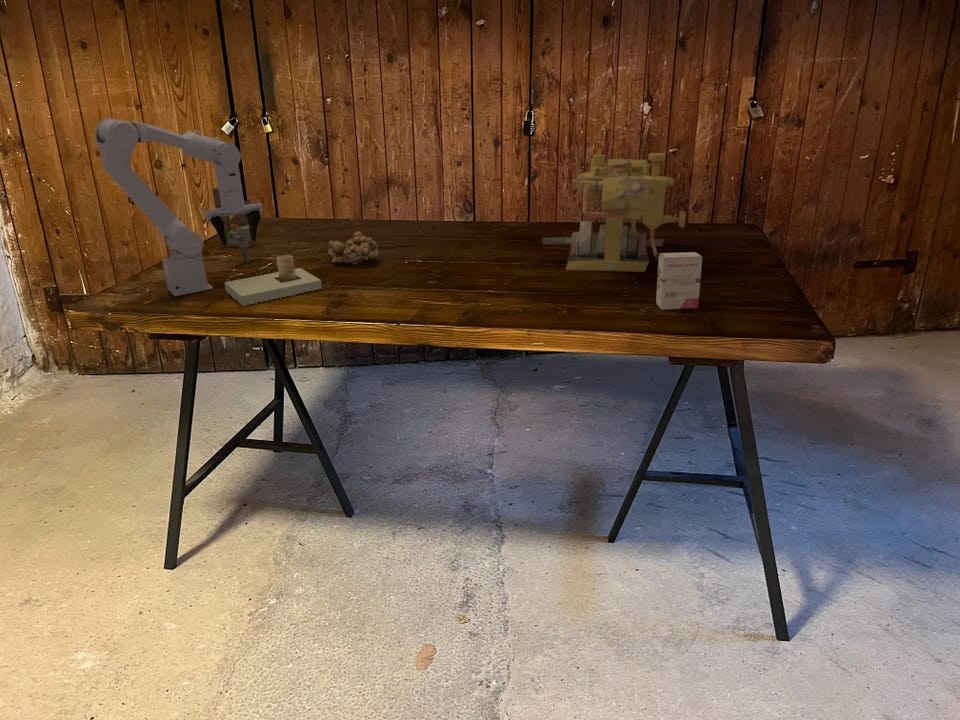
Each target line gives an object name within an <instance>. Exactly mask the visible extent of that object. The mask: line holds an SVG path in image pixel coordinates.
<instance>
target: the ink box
mask: <svg viewBox="0 0 960 720" xmlns="http://www.w3.org/2000/svg"><path fill="white" fill-rule="evenodd" d="M702 265H703V256H702V255H700V254H699V253H698V252H695V251H690V252H662V253H661V252H660V253H658V267H657V279H656V281H657V282H656V294H655V295H656V297H655V299H656V300H655V303H656V305H657V306H658V307H659V308H660V310H680V309H683V310H685V309H698V308H699V302H700V301H699V300H700V292H701V291H700V290H701V278H702V267H703V266H702Z"/></svg>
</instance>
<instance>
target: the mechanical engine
mask: <svg viewBox="0 0 960 720" xmlns="http://www.w3.org/2000/svg"><path fill="white" fill-rule="evenodd" d="M647 157H648V160H647V159H633V158H632V159H630V158H629V159H626V158H624V157H621V158H609V159H607V163H606V155H605V154H602V149H599V148H597V153H596V154H593V157H592V160H591V163H590V172H589V171H587V172H586V171H585V172H581V174H579V176H578V177H577V179H572V186H574V187H576V189H577V191H579V192H580V193H581V192H583V193H582V211H581V212H582V214H583V215H584V216H585V217H587V218H605V223H604V224H600V226H599V232H597V231H596V232H595V231H594V232H593V221H580V223H579V224H580V225H579V231H573V232H572V234H571V236H560V237H559V236H558V237H556V236H555V237H542V238H541V241H542V242H541V243H542V245H570V253H569V255H568V258H567V262H566V266H565V271H596V272H598V271H599V272H600V271H601V272H629V273H630V272H632V273H633V272H637V273H639V272H640V273H644V272H646V269H647V267H648V265H649V263H650V260H649V255H648V250H647V247H651V249H652V252H653V255H654V258H656V260H659V254H658V251H657V248H656V247H663V246H664V238H655V231H656V230H657V228H659V227H660V226H661V225H663V224H667V223H674V222H678V224H677V225H678V227H680V228H682V229H685V226H686V225H685V224H686V211H685V210H684V211H683V210H679V213H678V216H677V217H676V216H675V217H674V216H673V215H672V214H670V215H669V214H667V215H665V214H664V210H665V209H664V207H665V198H666V193H667V187H674V181H675V180H674V178H672V177H669V176H665V175H664V176H662V175H660V171H661V167H660V163H659V162H661V161H665V160H666V154H665V153H662V152H655V153H654V152H652V153H651V152H650V153H648V156H647ZM648 161H651V163H648ZM651 165H652V166H651ZM650 167H651V175H650V172H649V170H648V168H650ZM589 193H602V195H601V211H588V199H589V198H588V196H589ZM641 217H642V218H641ZM625 219H631V222H630V228H629V226H628V225H624V220H625ZM641 219H642V221H641V222H642V223H643V225H644V226H645V227H646V228H647V229H648V230H649V239H646V238H647V233H645V232H644V233H640V232H639V231H637V229H636V228H637V221H638V220H641ZM628 229H629V230H628Z"/></svg>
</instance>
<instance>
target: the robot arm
mask: <svg viewBox="0 0 960 720" xmlns="http://www.w3.org/2000/svg"><path fill="white" fill-rule="evenodd" d="M94 141H95V143H96V145H97V148H98V152H99V155H100V156H99V157H100V161H101V164H102V167H103V170H104V171H105V173H106V174H107V175H108V176H109V177H110V178H111V179H112V180H113V181H114V182H115V183H116V185H118V187H119V188H121V190H122V191H123V192H124V193H125V194H126V195H127V196H128V197H129V198H130V200H132V201H133V203H135V205H136V206H137V207H138V208H139V209H140V210H141V211H142V213H144V214H145V216H147V218H148V219H149V220H150V221H151V222H152V223H154V226H156V227H157V228H158V232H159V233H160V234H161V235H162V237H163V239H164V243H165V244H166V246H167V247H168V248H169V249H170V250H171V252H170V257H168V258H164V259H162V266H163V271H164V277H165V281H166V285H167V286H166V287H167V290H168V291H169V292H170V293H171V295H173V297H178V296H184V295H187V294H193V293H200V292H205V291H209V290H213V289H214V288H213V286H212V285H211V284H210V283H208V278H207V273H206V270H205V269H206V268H205V263H204V258H203V254H202V252H203V248H204V240H203V238H202V235H201V234H199V233H198V232H196V231H194V230H192V229H190V228H189V227H188V225H186V224H185V223H184V222H182V221H181V220H180V219H179V218H178V217H177V216H176V215H175V214H174V213H173V212H172V211H171V209H169V208H168V206H167V205H165V203H164V202H163V201H162V200H161V198H159V197H158V196H157V195H156V193H155V192H154V191H153V190H152V189H151V188H150V187H149V186H148V184H147V183H146V182H145V181H144V180H143V179H142V178H141V177H140V175H138V173H137V172H136V171H135V170H134V169H133V168H132V166H131V159H132V154H133V153H134V150H135V148H136V146H137V144H144V143H146V142H148V141H151V142H156V143H158V144H163V145H167V146H171V147H176V148H179V149H180V150H181V151H182V153H183V155H185V156H187V157H191V158H195V159H198V160H201V161H206V162H210V163H213V165H214V170H215V177H216V182H217V187H218V189H219V195H220V200H221V206H222V208H217V209H216V208H214V209H208V210H203V213H204V219H205V220H207V221H208V220H209V222H210V223H211V225H212V226H213V227H214V229H215V231H216V233H217V236H219V237H220V239H221V242H222V245H224V246H227V241H226V237H225V231H224V221H222V218H220V217H226V216H229V217H231V216H232V217H233V216H234V215H239V214H246V216H247V219H248V223H249V229H250V237H251V240H253V241H256V242H257V237H256V233H257V231H258V226H259V224H260V220H261V217H262V214H261V213H263V212H264V208H263V204H262V203H260V202H259V203H250V204H247V205H245V204H244V202H245V198H244V192H243V188H242V187H243V185H242V181H241V180H242V179H241V173H240V167H239V163H240V162H241V159H242V153H241V152H240V150H239V149H238V147H237V146H236V145H235V144H234V143H232V142H226V141H222V140H221V139H220V137H216V136H214V137H209V136H205V135H203V134H202V132H201V131H198V130H193V131H188V132H185V134H180V133H176V132H174V131H171V130H168V129H164V128H163V127H158V126H155V125H152V124H149V123H147V122H146V123H145V122H138V121H129V120H125V119H115V118H112V117H107V118H103V119H101V120H100V121H99V122H98V124H97V126H96V129H95V136H94ZM228 213H229V214H228ZM257 234H258V233H257Z"/></svg>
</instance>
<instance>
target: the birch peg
mask: <svg viewBox="0 0 960 720" xmlns="http://www.w3.org/2000/svg"><path fill="white" fill-rule="evenodd" d="M276 264H277V272H279V278H280V282H281V283H283V282H288V281H293V280H296V276H295V269H296V268H295V263H294V256H293V255H291V254H284V255H283V254H282V255H278V256H276Z"/></svg>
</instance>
